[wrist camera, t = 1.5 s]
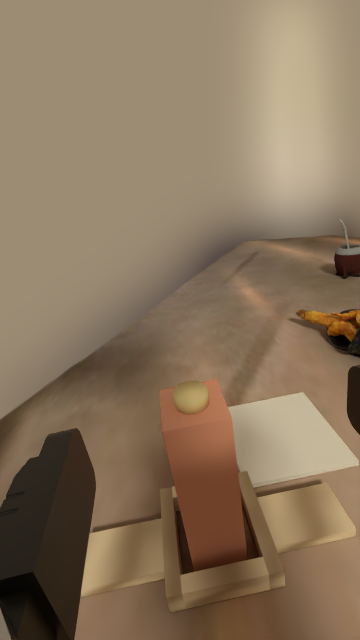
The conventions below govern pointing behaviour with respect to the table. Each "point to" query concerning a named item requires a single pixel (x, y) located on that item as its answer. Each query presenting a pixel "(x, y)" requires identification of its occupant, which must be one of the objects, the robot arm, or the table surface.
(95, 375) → the table surface
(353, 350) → the fried shrimp in bowl
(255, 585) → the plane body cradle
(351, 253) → the mate gourd
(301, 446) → the felt pad
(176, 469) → the salmon block with knob
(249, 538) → the table surface
